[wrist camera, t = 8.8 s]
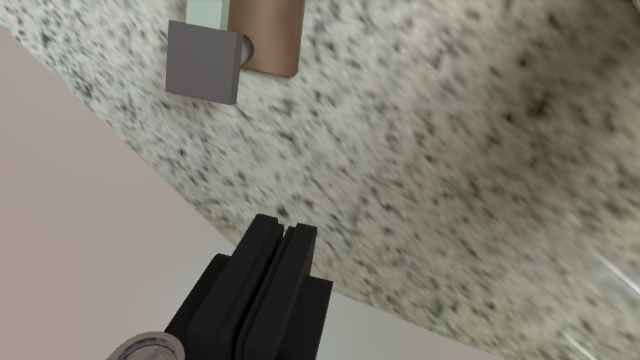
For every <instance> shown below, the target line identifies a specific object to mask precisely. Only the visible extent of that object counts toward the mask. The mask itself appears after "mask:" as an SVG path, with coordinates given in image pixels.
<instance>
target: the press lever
mask: <svg viewBox="0 0 640 360" xmlns="http://www.w3.org/2000/svg"><path fill="white" fill-rule="evenodd" d="M229 4H230V0H187V10H186V23H183V22H177V21H172V20H169V30H168V50H167V71H166V92H169V93H174V94H179V95H184V96H189V97H193V98H198V99H203V100H208V101H213V102H218V103H223V104H227V105H231V104H234V103H236V100H237V91H238V81H239V72H240V62H241V53H242V43H243V34H242V33H236V32H231V31H227V26H228V15H229Z"/></svg>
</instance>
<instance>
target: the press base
mask: <svg viewBox="0 0 640 360" xmlns="http://www.w3.org/2000/svg"><path fill="white" fill-rule="evenodd" d="M304 8H305V0H230V4H229V15H228V26H227V31H231V32H236V33H242V34H243V43H242V53H241V62H240V67H243V68H248V69H253V70H258V71H263V72H268V73H273V74H278V75H284V76H289V77H294V76H295V75H296V74H297V72H298V62H299V53H300V44H301V35H302V26H303V17H304Z"/></svg>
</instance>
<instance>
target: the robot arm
mask: <svg viewBox="0 0 640 360" xmlns="http://www.w3.org/2000/svg"><path fill="white" fill-rule="evenodd" d="M632 1H633V4H634V5H635V7H636V8H637V10H638V12H639V13H640V0H632ZM283 232H284V225H282V224H278V218H276V217H272V216H267V215H263V214H257V215H256V217H255V218H254V220H253V221H252V223H251V225H250V226H249V228H248V230H247V231H246V233H245V234H244V236H243V238H242V239H241V241H240V243H239V244H238V246H237V248H236V249H235V251H234V252H233V254H232V256H228V255H224V254H220V253H218V254H217V255H215V257H214V258H213V259H212V261H211V262H210V264H209V265H208V266H207V268H206V269H205V271H204V272H203V274H202V275H201V277H200V279H199V280H198V281H197V283H196V285H195V286H194V287H193V289H192V290H191V292H190V293H189V295H188V297H187V298H186V299H185V301H184V302H183V304H182V305H181V307H180V308H179V310H178V311H177V313H176V314H175V316H174V317H173V319H172V320H171V322H170V323H169V325H168V326H167V328H166V329H165V331H164V332H146V333H143V334H138V335H136V336H134V337H132V338H130V339H128V340H126V341H125V342H124V343H123V344H121V345H120V346H119V347H118V348H117V349H116V350H115V351H114V352H113V353H112V354H111V355H110V356H109V357H108V358H107V359H106V360H316V356H317V352H318V348H319V343H320V339H321V335H322V331H323V327H324V322H325V318H326V313H327V309H328V304H329V300H330V295H331V290H332V285H333V282H332V281H328V280H324V279H320V278H316V277H312V276H310V271H311V265H312V259H313V253H314V247H315V241H316V235H317V227H314V226H310V225H306V224H301V223H297V225H296V228H295V227H291V226H289V227H288V229H287V231H286V234H285V236H284V238H283Z"/></svg>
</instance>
